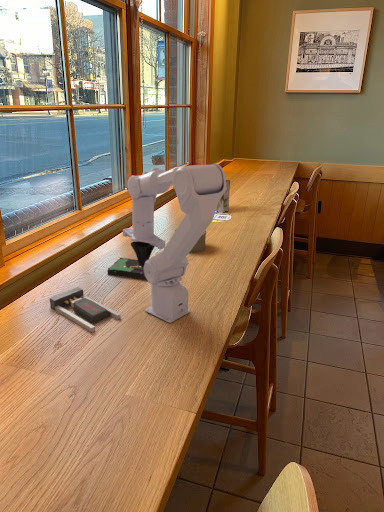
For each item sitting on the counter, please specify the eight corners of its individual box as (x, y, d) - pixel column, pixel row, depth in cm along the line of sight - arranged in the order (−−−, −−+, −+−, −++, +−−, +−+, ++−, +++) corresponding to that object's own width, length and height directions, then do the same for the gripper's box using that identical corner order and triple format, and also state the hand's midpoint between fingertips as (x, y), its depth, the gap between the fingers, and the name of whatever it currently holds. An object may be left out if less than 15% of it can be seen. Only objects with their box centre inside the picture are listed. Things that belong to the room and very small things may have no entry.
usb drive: (93, 325, 98) (92, 316, 97) (68, 309, 105) (67, 300, 104) (110, 318, 101) (109, 308, 100) (84, 302, 109) (83, 294, 108)
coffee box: (229, 211, 203) (230, 180, 197) (223, 213, 198) (224, 182, 192) (213, 208, 207) (215, 178, 202) (207, 211, 202) (208, 180, 196)
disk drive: (160, 270, 132) (120, 264, 135) (160, 262, 131) (120, 256, 134) (149, 282, 122) (107, 276, 126) (149, 274, 121) (106, 268, 125)
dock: (120, 318, 101) (120, 308, 100) (91, 332, 94) (90, 321, 93) (79, 296, 112) (78, 286, 110) (50, 307, 105) (49, 297, 104)
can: (202, 254, 144) (203, 237, 142) (171, 251, 146) (171, 234, 144) (208, 244, 155) (208, 227, 153) (178, 241, 157) (178, 225, 155)
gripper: (113, 217, 106) (115, 262, 111) (152, 229, 97) (152, 278, 103) (132, 211, 111) (133, 255, 116) (170, 223, 103) (169, 269, 108)
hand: (143, 265), depth 110 cm, fingers closed
